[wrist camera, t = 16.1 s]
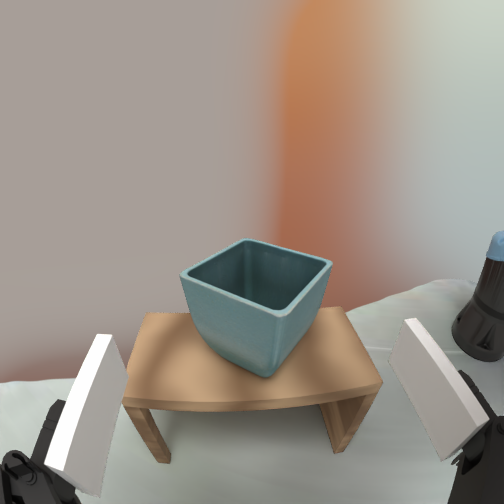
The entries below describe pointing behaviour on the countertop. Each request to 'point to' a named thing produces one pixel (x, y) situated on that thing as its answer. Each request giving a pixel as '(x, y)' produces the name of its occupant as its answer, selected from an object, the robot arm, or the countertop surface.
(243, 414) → the countertop surface
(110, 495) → the countertop surface
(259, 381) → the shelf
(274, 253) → the flower pot
